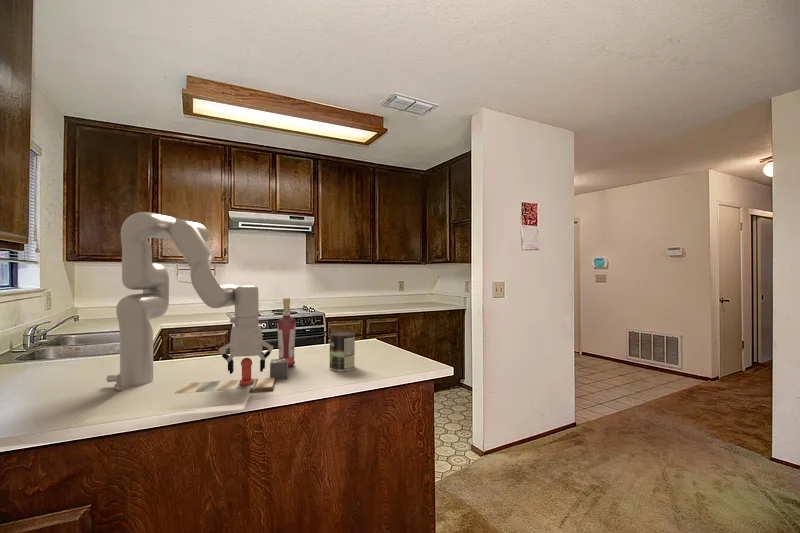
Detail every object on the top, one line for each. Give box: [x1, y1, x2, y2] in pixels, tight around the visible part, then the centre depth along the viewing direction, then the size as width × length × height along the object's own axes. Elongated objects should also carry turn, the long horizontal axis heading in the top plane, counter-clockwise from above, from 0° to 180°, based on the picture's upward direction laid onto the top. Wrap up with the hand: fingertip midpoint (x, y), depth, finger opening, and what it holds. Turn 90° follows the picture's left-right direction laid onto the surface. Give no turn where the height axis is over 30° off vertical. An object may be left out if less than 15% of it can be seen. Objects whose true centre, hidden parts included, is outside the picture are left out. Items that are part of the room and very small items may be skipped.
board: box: [173, 377, 276, 395], centre depth 129 cm, size 30×12×1 cm, turn 104°
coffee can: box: [328, 330, 356, 372], centre depth 156 cm, size 10×10×14 cm
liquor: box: [277, 297, 297, 369], centre depth 158 cm, size 7×7×28 cm
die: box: [269, 358, 289, 380], centre depth 143 cm, size 6×6×6 cm
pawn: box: [239, 357, 254, 386], centre depth 131 cm, size 4×4×9 cm
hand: (246, 371), depth 131 cm, fingers open, 9 cm apart
